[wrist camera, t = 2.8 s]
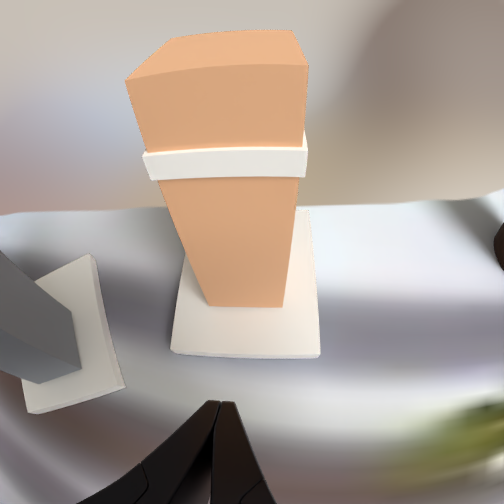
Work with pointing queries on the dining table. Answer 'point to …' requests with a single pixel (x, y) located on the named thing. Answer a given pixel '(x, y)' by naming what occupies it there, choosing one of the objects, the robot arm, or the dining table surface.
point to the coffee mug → (499, 246)
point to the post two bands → (33, 329)
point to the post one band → (228, 154)
